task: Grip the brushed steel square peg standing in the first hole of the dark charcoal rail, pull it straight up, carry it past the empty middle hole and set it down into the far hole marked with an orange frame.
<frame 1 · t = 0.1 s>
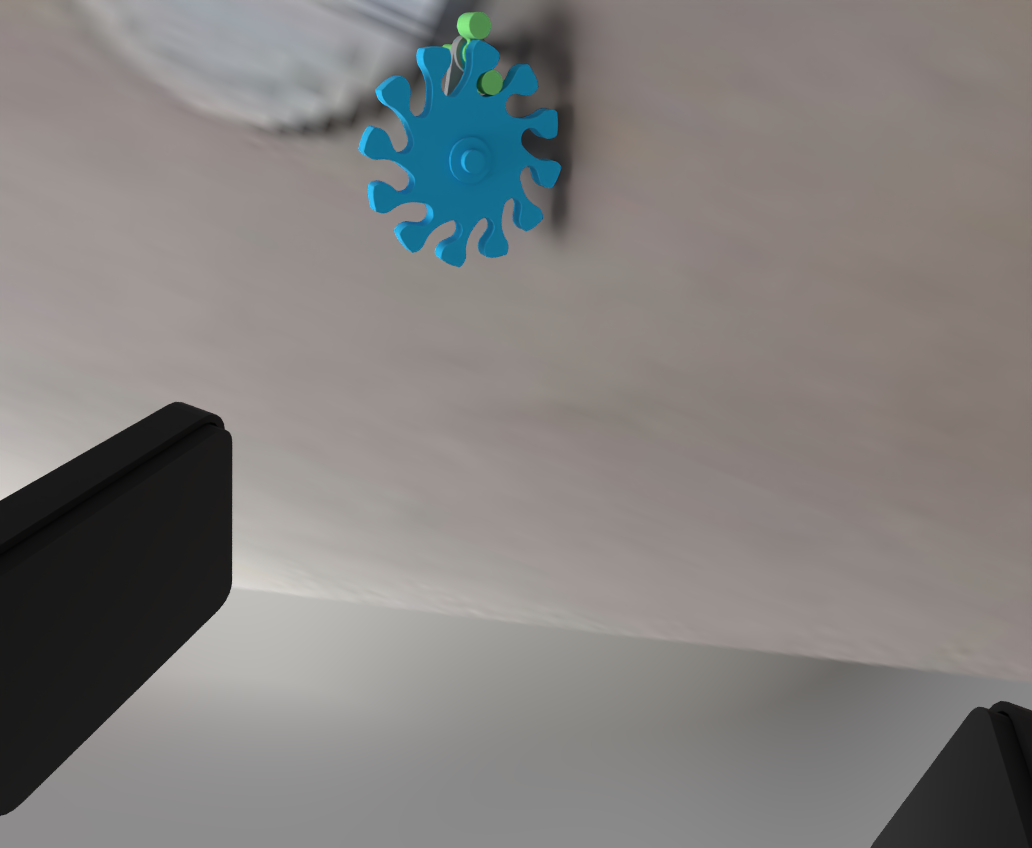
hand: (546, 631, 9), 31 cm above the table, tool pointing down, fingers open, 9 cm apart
blue lobed cog wheel: (494, 138, 38), on the table
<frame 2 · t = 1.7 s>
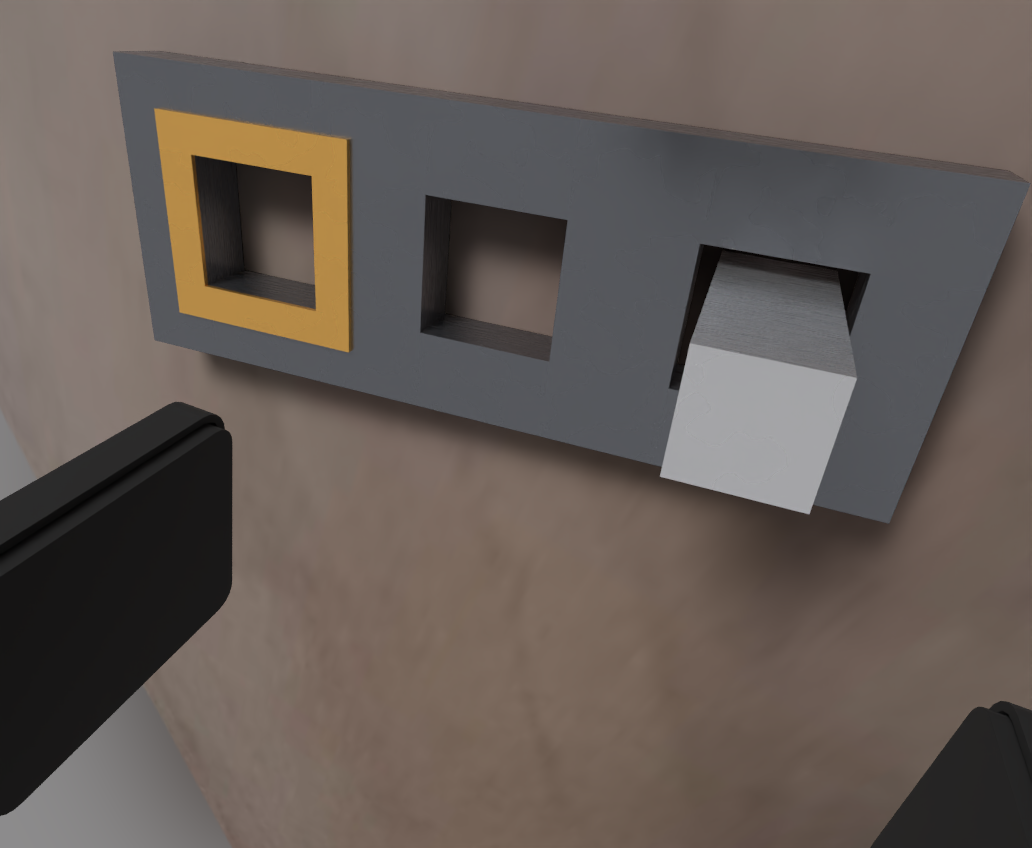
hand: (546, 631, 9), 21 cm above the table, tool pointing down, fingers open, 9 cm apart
rail: (510, 263, 30), on the table
steel peg: (764, 312, 28), resting in rail
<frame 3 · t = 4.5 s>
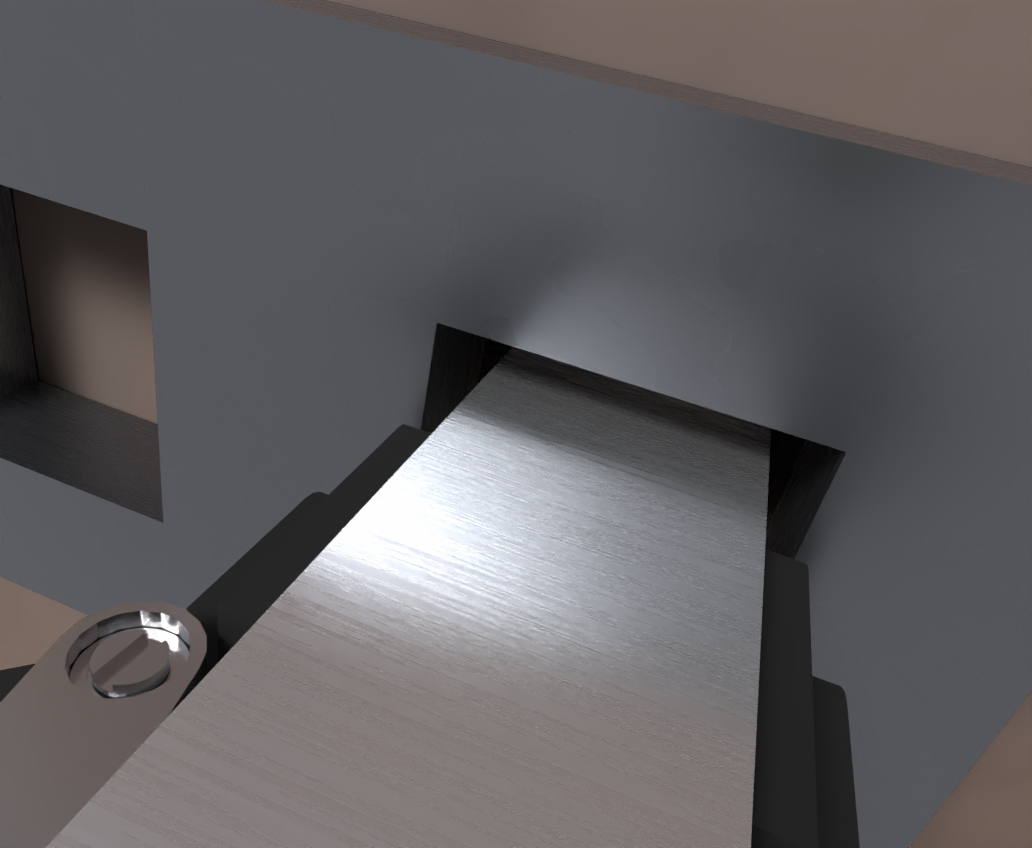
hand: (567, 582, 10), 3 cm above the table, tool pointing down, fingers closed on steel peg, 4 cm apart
rail: (131, 301, 15), on the table
steel peg: (616, 465, 13), resting in rail, touching gripper
when the fingers open (5 cm above the table, at t = 10.9 s): steel peg drops 1 cm, resting in rail.
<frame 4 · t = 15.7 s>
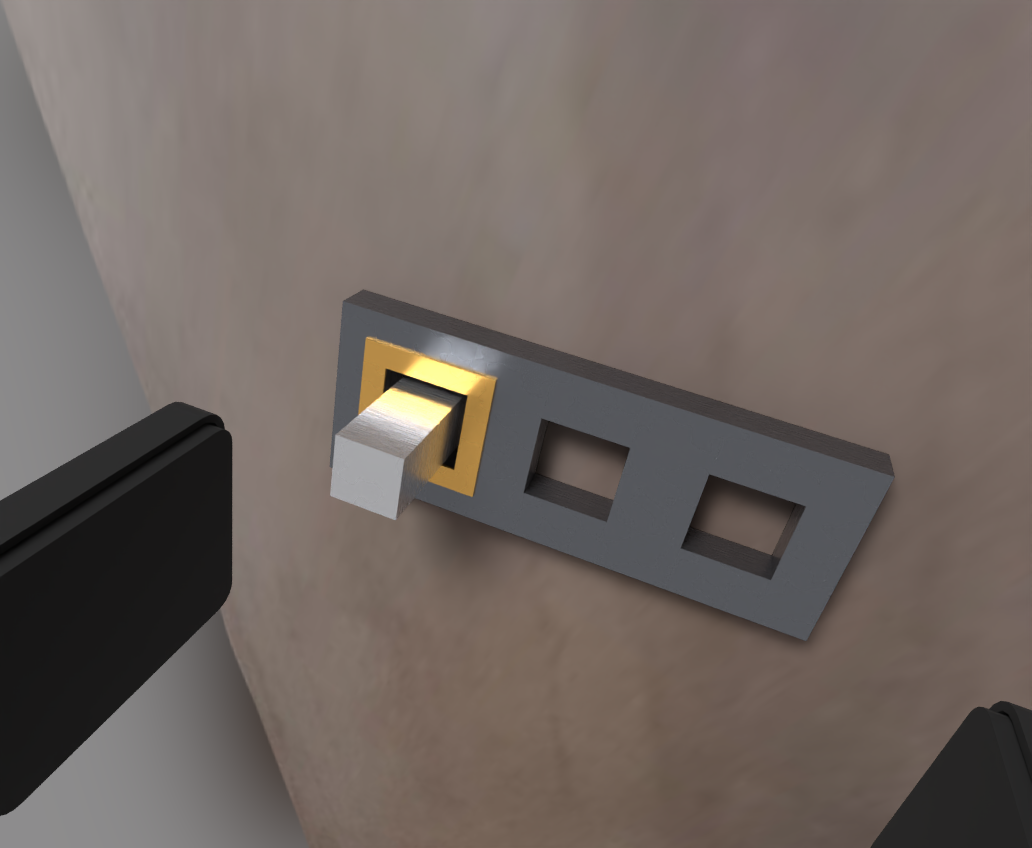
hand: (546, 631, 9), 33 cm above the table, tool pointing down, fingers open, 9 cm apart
rail: (584, 452, 47), on the table
steel peg: (440, 402, 48), resting in rail
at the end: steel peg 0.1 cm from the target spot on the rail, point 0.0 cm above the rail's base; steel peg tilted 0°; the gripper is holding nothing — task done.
